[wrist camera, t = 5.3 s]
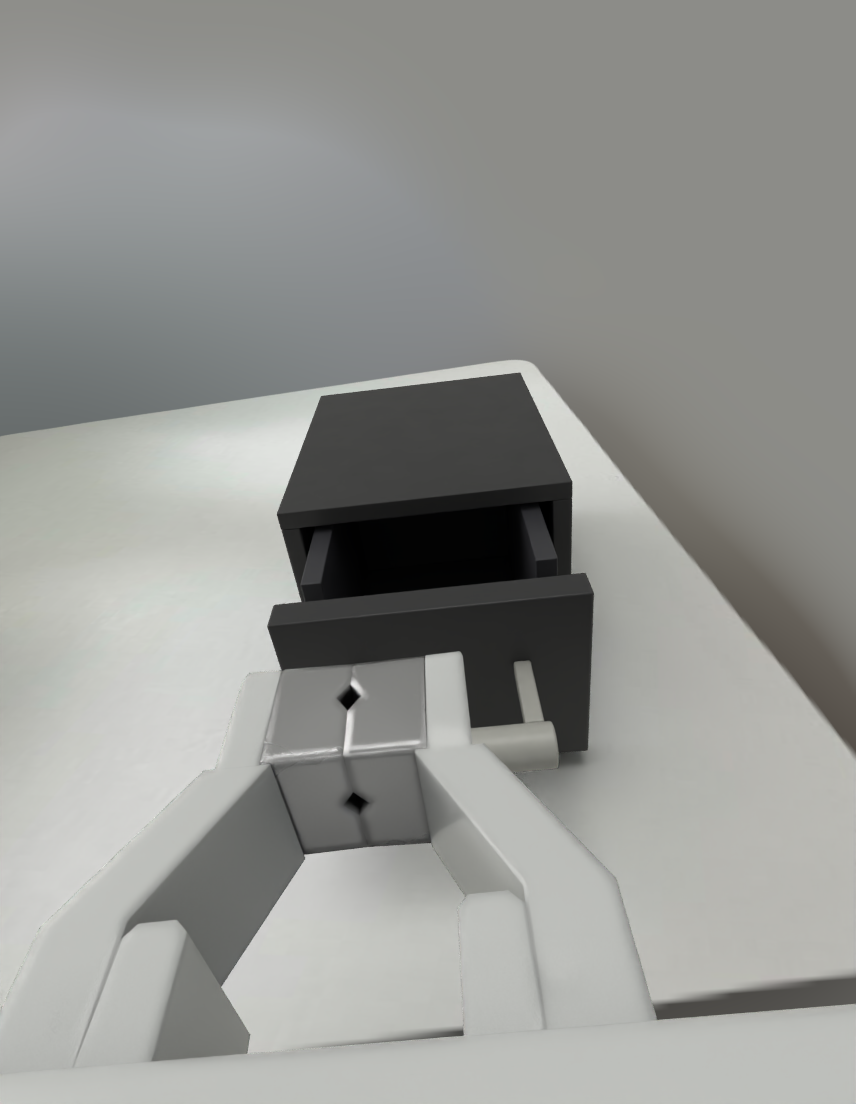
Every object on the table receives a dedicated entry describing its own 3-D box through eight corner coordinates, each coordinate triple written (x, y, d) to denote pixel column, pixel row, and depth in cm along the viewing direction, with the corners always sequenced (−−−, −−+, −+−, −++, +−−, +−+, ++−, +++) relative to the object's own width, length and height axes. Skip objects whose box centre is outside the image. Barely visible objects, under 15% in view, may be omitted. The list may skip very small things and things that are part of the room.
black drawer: (617, 852, 21) (632, 685, 17) (299, 878, 22) (236, 723, 17) (533, 561, 36) (529, 434, 32) (345, 580, 36) (318, 458, 32)
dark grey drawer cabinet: (570, 659, 30) (572, 481, 25) (323, 682, 31) (276, 513, 26) (525, 512, 43) (520, 372, 37) (349, 530, 43) (320, 395, 38)
